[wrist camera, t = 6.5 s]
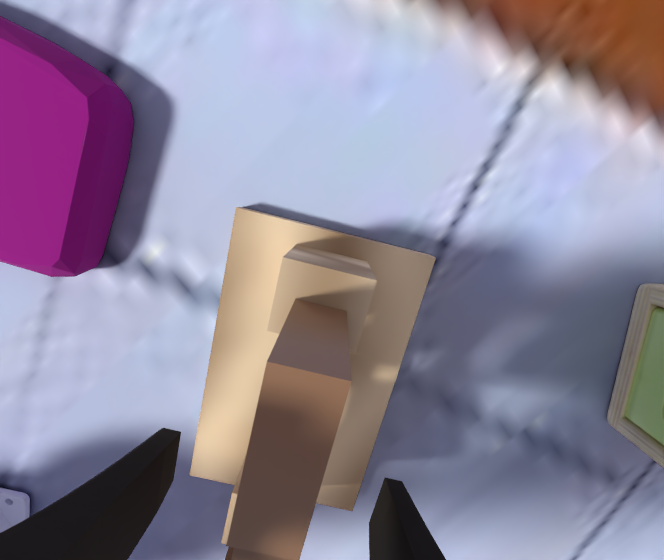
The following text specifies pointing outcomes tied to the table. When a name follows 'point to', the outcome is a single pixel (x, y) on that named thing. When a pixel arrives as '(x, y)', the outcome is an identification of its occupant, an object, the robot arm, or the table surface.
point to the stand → (265, 326)
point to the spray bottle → (57, 155)
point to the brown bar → (292, 434)
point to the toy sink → (642, 376)
